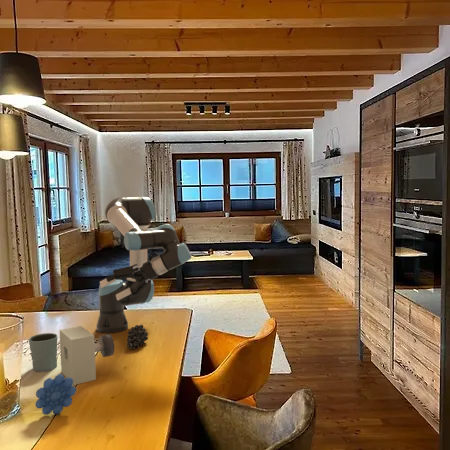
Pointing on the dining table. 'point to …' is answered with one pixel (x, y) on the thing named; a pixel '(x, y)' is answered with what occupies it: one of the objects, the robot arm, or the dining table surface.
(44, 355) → the grey-green cup
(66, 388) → the grapes
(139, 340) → the fruit
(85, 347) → the cream rectangular block
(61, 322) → the dining table surface
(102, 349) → the knob
